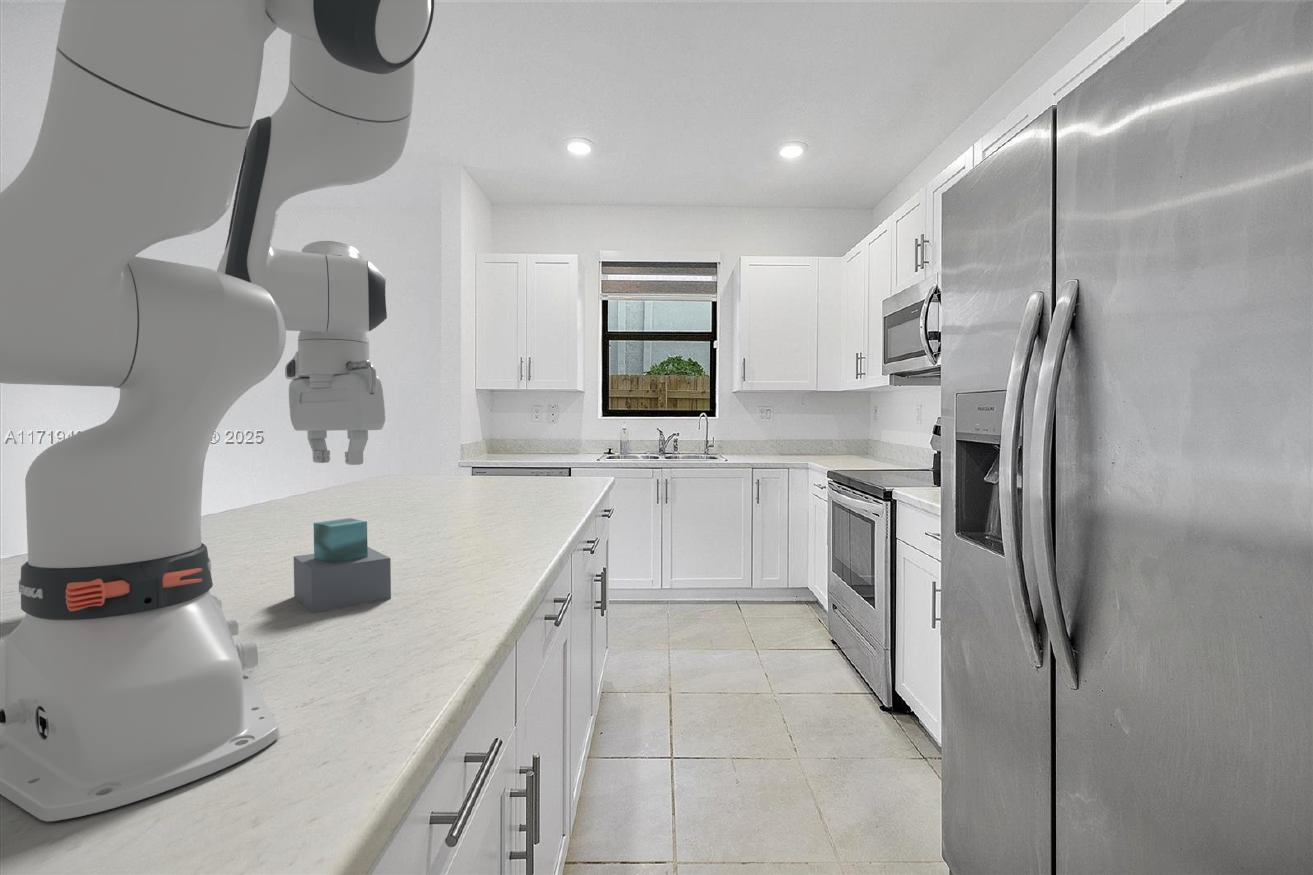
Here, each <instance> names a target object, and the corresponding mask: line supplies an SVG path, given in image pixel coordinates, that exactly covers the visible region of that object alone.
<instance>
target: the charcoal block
mask: <svg viewBox="0 0 1313 875" xmlns="http://www.w3.org/2000/svg"><path fill="white" fill-rule="evenodd" d="M367 547H368V557H364V558H358V559H353V560H348V561H342V562H337V563H329V562H325V561H322V560H318V559H315V558H314V553H309V554H301V555H295V556H293V595H294V596H293V597H294V598H295V599H296V600H297V601H298V602H300V603H301V605H302V606H304V607H305V608H306V609H307V610H308V611H309V612H310V613H311V614H315V613H320V612H327V611H332V610H336V609H342V608H348V607H353V606H359V605H365V604H371V603H374V602H375V603H376V602H381V601H386V600H391V599H392V583H391V582H392V579H391V578H392V577H391V574H392V573H391V572H392V571H391V567H392V565H391V557H389V556H387V555H385V554H384V553H381V552H379V551H377V550H376V549H373V548H371V547H369V546H367Z"/></svg>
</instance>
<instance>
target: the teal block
mask: <svg viewBox="0 0 1313 875" xmlns="http://www.w3.org/2000/svg"><path fill="white" fill-rule="evenodd" d="M368 547H369V546H368V521H365V520H361V519H357V518H349V517H347V518H341V519H332V520H331V519H330V520H325V521H317V522H313V554H314V558H315V559H318V560H322V561H325V562H329V563H337V562H342V561H348V560H353V559H358V558H364V557H368Z"/></svg>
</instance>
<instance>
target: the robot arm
mask: <svg viewBox="0 0 1313 875" xmlns="http://www.w3.org/2000/svg"><path fill="white" fill-rule="evenodd" d="M63 6H64V7H63V11H62V15H61V20H60V25H59V31H58V38H57V43H56V49H55V55H54V57H55V58H54V62H53V63H54V64H53V70H52V78H51V83H50V87H49V92H48V97H47V98H48V99H47V100H46V101H47V102H46V106H45V110H44V115H43V118H42V119H43V120H42V123H41V126H40V129H39V134H38V137H37V140H36V144H35V147H34V149H33V150H32V154H31V156H30V158H29V159H28V161H27V162H26V165H25V166H24V167H23V169H22V171H20V172H19V174H18V175H17V176H16V178H15V179H14V180H13V181H11V183H10V184H9V185H8V186H7V187H6V188H4V190H2V191H1V192H0V384H6V385H9V384H10V385H36V386H37V385H41V386H42V385H43V386H47V385H48V386H75V387H105V388H107V387H108V388H114V389H119V400H118V403H117V407H116V408H115V410H114V412H113V414H112V415H111V416H110V418H108V419H107V421H105V422H103V423H101V424H99V425H96V426H93V427H91V428H88V429H86V430H83V431H80V432H78V433H75V434H73V435H71V436H69V437H66V438H65V439H61V440H60V441H58V442H56V443H54V444H52V445H51V446H49V447H47V448H46V449H45V450H43V451H42V452H41V453H40V454H38V456H36V457H35V459H34V460H33V461H32V462H31V465H30V466H29V467H28V469H27V472H26V475H25V480H24V482H25V486H24V487H25V490H24V491H25V509H26V510H25V512H26V535H27V536H26V540H27V541H26V542H27V561H26V562H25V563H23V564H22V565H21V566H20V579H19V581H18V593H19V594H20V609H21V611H23V612H24V613H25V616H24V617H23V619H22V620H21V621H20V623H19V624H18V625H17V626H16V627H15V628H14V629H13V630H12V632H10V633H9V634H8V635H7V636H5V637H4V638H3V639H2V640H0V795H1V796H3V797H4V798H6V799H7V800H9V801H11V803H13V804H15V805H17V806H19V808H21V809H23V810H24V811H26V812H27V813H29V814H31V815H32V816H33V817H35V818H37V819H38V820H41V821H44V822H58V821H61V820H62V821H63V820H69V819H74V818H79V817H83V816H87V815H93V814H97V813H99V812H100V813H101V812H104V811H108V810H111V809H116V808H119V807H122V806H125V805H129V804H132V803H134V802H135V803H136V802H137V801H141V800H144V799H146V798H147V799H148V798H150V797H153V796H156V795H159V794H161V793H164V792H167V791H170V790H172V789H175V788H178V787H181V786H184V785H186V784H188V783H191V782H194V781H196V780H199V779H202V778H204V777H206V776H209V775H211V774H214V773H216V772H219V771H221V770H224V769H226V768H228V767H230V766H232V765H234V764H236V763H238V762H241V761H242V760H245V759H247V758H249V757H251V756H252V755H255V754H256V753H258V752H260V751H261V750H263V749H265V748H266V747H267V746H269V745H270V744H272V743H274V742H275V741H277V739H278V738H279V737H280V731H279V730H280V729H279V725H278V722H277V720H276V718H275V716H274V713H272V711H271V709H270V707H269V705H268V703H267V701H266V699H265V697H264V696H263V694H262V692H261V690H260V688H259V687H258V685H257V683H256V681H255V679H254V677H253V675H252V673H251V672H250V671H248V670H252V669H255V668H256V667H258V662H259V655H258V653H259V652H258V647H257V643H256V641H254V640H253V641H252V640H250V641H249V640H248V641H244V642H240V643H236V644H235V642H234V638H233V637H234V636H237V635H238V634H239V623H238V620H237V619H231V620H227V619H226V617H225V614H224V611H223V609H222V606H223V605H222V600H221V599H219V598H218V597H217V596H214V595H212V594H211V591H210V590H211V589H212V587H213V586H214V584H213V578H212V572H211V571H212V561H211V559H210V558H209V553H208V547H207V545H206V544H204V543H203V542H202V497H203V494H202V493H203V480H204V470H205V469H204V468H205V461H206V456H207V452H208V450H209V446H210V443H211V441H212V438H213V436H214V434H215V432H216V430H217V428H218V426H219V424H220V422H221V421H222V419H223V418H224V416H225V415H226V413H227V412H228V411H229V409H230V408H231V407H232V406H233V405H234V404H235V403H236V402H237V401H238V400H239V399H240V397H241V396H243V395H244V394H245V393H246V392H248V391H249V390H250V389H251V388H253V387H254V386H256V385H258V384H259V383H261V382H262V381H264V380H266V378H268V376H270V375H271V374H272V373H273V371H274V370H275V369H276V368H277V366H278V364H279V362H280V361H281V359H282V357H283V354H284V351H285V348H286V347H285V346H286V342H287V340H286V339H287V331H291V332H292V331H293V332H294V331H295V332H299V334H298V337H297V350H296V352H295V354H294V356H293V357H292V359H290V360H289V361H288V362H287V363H286V364H285V365H284V366H285V367H284V375H285V378H286V380H291V381H290V382H289V385H288V403H289V404H288V406H289V415H290V417H289V418H290V422H291V424H292V427H293V429H294V430H295V432H296V431H297V432H301V431H303V432H304V431H305V432H307V441H308V443H309V446H310V449H311V451H312V462H314V463H315V464H325V463H327V464H328V463H329V462H330V460H331V456H330V455H331V452H330V449H328V447H327V442H326V439H327V438H328V436H327V435H328V434H327V433H328V432H327V431H330V432H331V431H346V432H347V439H348V440H349V442H348V448H347V451H344V458H345V459H344V461H345V462H344V463H345V465H349V466H355V465H356V466H358V465H359V466H360V465H362V464H364V451H365V449H366V446H367V443H368V441H369V431H381V430H383V429H384V428H383V427H384V425H385V423H386V408H385V399H384V391H383V385H382V382H381V379H380V377H379V376H378V375H377V371H376V368H374V366H373V365H372V364H371V362H370V342H369V339H368V338H369V337H368V335H367V332H372V331H373V330H375V329H376V328H378V326H380V325H381V324H382V323H383V322H385V320H387V318H388V314H387V303H386V300H387V299H386V283H387V278H386V277H385V276H384V275H383V273H382V272H381V271H380V270H379V269H378V268H377V267H376V266H375V265H374V264H373V263H372V262H370V261H369V260H366V259H363V256H362V254H361V252H360V251H359V250H358V249H356V248H355V247H353V246H351V245H349V244H347V243H343V242H338V241H333V240H332V241H331V240H319V241H313V242H310V243H308V244H306V245H304V246H303V248H302V249H301V251H296V250H287V249H286V250H285V249H280V248H276V247H273V246H271V245H272V240H273V236H274V232H275V229H276V223H277V218H278V215H279V211H280V210H281V206H282V205H283V204H284V203H285V202H287V201H288V200H289V199H291V198H293V197H295V196H298V195H302V194H303V193H307V192H312V191H315V190H321V189H326V188H327V189H328V188H332V187H340V186H351V185H358V184H361V183H366V182H368V181H370V180H371V181H372V180H374V179H376V178H378V177H380V176H381V175H383V174H385V173H386V172H387V171H389V170H390V169H392V167H394V165H395V164H396V163H397V162H398V161H399V160H400V158H401V157H402V155H403V152H404V149H405V146H406V142H407V139H408V134H409V131H410V130H409V129H410V125H411V117H412V110H413V101H414V92H415V79H416V78H415V77H416V57H417V56H418V54H419V53H420V51H421V50H422V48H423V47H424V45H425V43H426V40H427V39H428V36H429V34H430V30H431V27H432V24H433V18H434V14H435V13H434V11H435V0H65V2H64V5H63ZM277 28H278V29H280V30H281V31H284V32H285V33H287V34H289V35H290V49H289V70H288V71H289V76H288V77H289V78H288V79H289V80H288V89H287V92H286V94H285V98H284V99H283V101H282V103H281V104H280V105H279V107H278V108H277V110H276V111H275V112H273V114H272V115H271V116H270V115H268V116H265V117H262V118H258V119H256V120H255V122H254V123H253V125H252V122H253V117H254V113H255V109H256V105H257V101H258V94H259V90H260V89H259V88H260V83H261V75H262V69H263V68H262V66H263V61H264V50H265V43H266V42H267V40H268V39H269V38H270V36H271V35H272V34H273V33H274V32H275V31H276V30H277ZM251 125H252V127H251ZM236 184H237V185H236ZM235 187H236V189H235ZM234 191H235V194H234ZM233 194H234V200H233V205H232V207H233V208H232V212H231V216H230V222H229V228H228V235H227V240H226V243H225V247H224V252H223V254H222V255H221V259H220V261H219V263H218V266H217V269H216V270H215V269H212V268H207V267H203V266H195V265H191V264H184V263H178V262H172V261H165V260H159V259H155V258H147V257H143V256H142V257H141V256H137V255H138V254H140V253H141V252H143V251H144V250H146V249H148V248H149V247H151V246H153V245H156V244H158V243H160V242H163V241H167V240H171V239H175V238H179V237H184V236H189V235H193V234H197V233H200V232H202V231H205V230H207V229H209V228H211V227H212V226H213V225H214V224H215V223H217V222H218V221H219V220H221V218H222V217H223V216H224V215H225V214H226V213H227V211H228V210H229V208H230V205H231V201H232V198H233Z"/></svg>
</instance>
